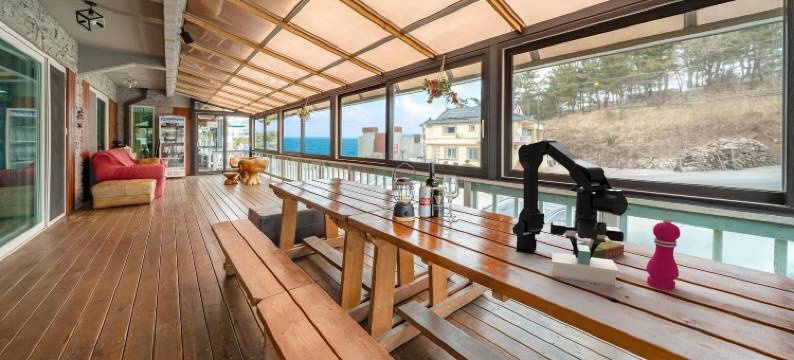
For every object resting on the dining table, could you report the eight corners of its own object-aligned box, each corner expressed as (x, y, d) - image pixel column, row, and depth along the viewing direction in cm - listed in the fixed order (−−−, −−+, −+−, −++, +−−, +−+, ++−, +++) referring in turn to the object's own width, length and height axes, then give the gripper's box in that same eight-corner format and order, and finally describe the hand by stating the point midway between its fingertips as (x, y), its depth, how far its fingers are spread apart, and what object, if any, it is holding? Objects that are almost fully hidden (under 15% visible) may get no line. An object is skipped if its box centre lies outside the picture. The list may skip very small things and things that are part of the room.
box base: (552, 276, 100) (553, 264, 99) (552, 267, 107) (553, 255, 106) (615, 286, 93) (616, 272, 92) (610, 275, 100) (611, 263, 100)
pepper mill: (679, 293, 89) (687, 221, 86) (646, 287, 92) (653, 218, 90) (674, 283, 95) (682, 216, 92) (643, 278, 98) (649, 213, 96)
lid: (552, 264, 99) (553, 248, 98) (551, 254, 107) (552, 240, 106) (618, 273, 92) (619, 257, 91) (612, 262, 100) (613, 247, 99)
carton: (623, 256, 118) (625, 244, 117) (593, 262, 112) (594, 250, 111) (601, 248, 125) (602, 237, 125) (572, 254, 119) (572, 243, 119)
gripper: (552, 210, 94) (549, 263, 96) (630, 217, 86) (625, 273, 88) (551, 203, 104) (548, 251, 106) (621, 208, 96) (617, 259, 98)
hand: (582, 258), depth 99 cm, fingers closed on lid, 3 cm apart
